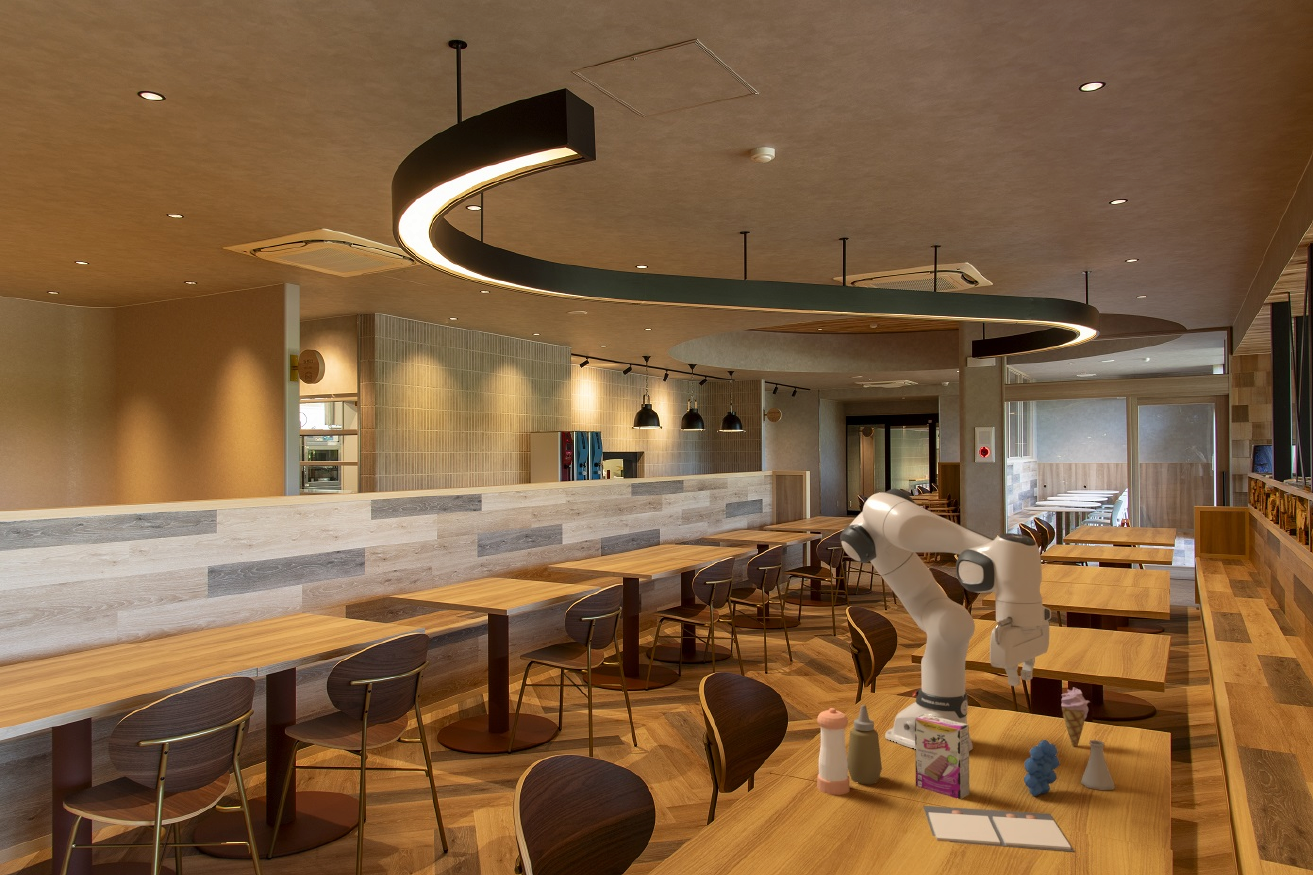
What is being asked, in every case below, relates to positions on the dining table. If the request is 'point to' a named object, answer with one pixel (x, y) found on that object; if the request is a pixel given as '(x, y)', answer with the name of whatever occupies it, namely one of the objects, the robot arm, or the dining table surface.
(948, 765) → the candy bar box
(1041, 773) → the grapes
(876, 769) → the squeeze bottle
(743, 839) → the dining table surface
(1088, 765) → the flask
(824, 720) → the pepper shaker
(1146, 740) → the dining table surface
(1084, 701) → the ice cream cone
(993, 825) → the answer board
